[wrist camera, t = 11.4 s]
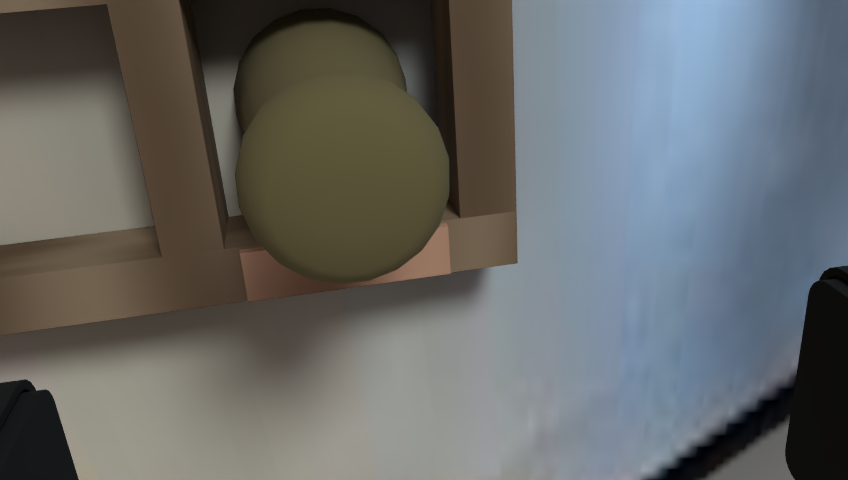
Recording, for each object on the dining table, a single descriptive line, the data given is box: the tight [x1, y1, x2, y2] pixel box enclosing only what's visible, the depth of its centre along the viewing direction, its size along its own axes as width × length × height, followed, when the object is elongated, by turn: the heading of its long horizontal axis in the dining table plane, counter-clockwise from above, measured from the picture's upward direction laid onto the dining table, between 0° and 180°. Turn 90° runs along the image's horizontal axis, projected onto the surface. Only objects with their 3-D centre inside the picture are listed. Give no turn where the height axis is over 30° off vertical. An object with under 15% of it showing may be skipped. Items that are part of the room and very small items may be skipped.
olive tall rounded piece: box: [234, 8, 449, 284], centre depth 23 cm, size 6×6×11 cm
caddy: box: [0, 0, 517, 335], centre depth 26 cm, size 22×12×3 cm, turn 94°
